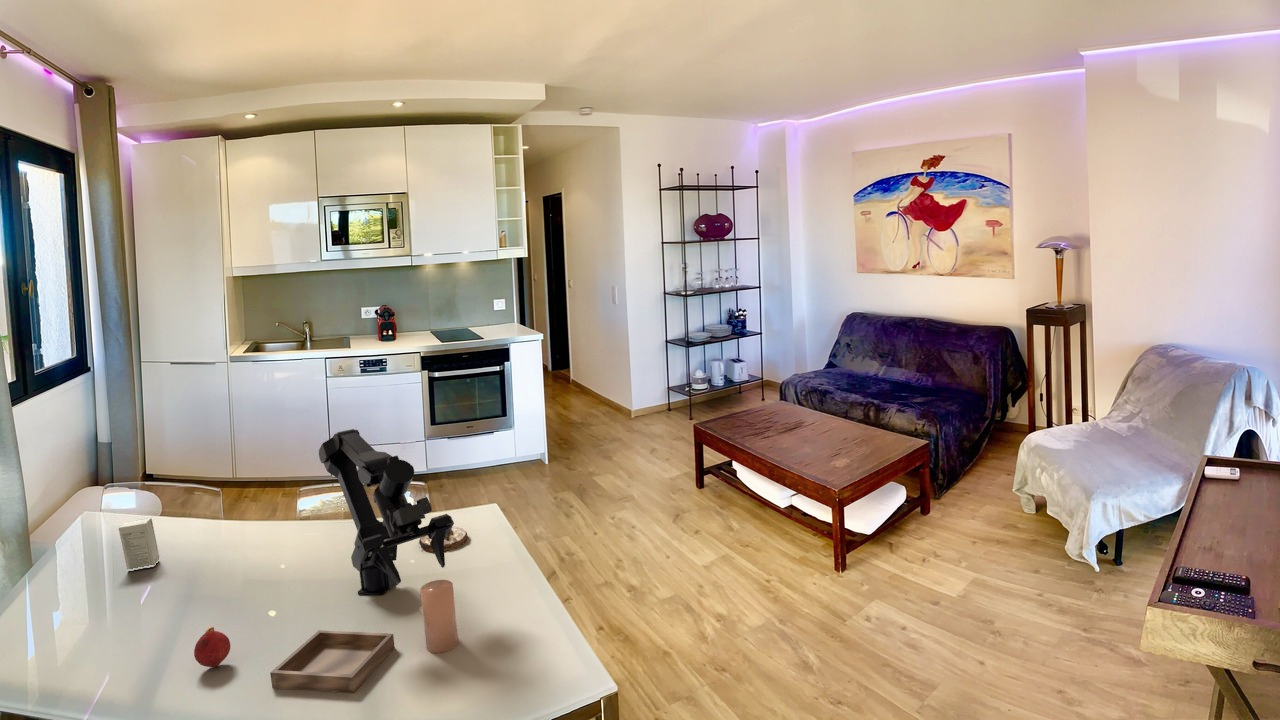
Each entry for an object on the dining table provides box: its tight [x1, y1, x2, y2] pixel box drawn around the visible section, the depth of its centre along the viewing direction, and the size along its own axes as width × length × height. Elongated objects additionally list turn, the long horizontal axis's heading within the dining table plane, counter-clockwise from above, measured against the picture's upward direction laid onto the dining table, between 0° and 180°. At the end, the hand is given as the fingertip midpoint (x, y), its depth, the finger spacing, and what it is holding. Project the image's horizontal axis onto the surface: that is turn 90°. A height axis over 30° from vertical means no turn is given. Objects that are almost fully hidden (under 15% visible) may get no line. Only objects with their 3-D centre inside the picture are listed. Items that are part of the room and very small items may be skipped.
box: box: [269, 630, 396, 694], centre depth 128 cm, size 16×14×3 cm
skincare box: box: [118, 517, 160, 570], centre depth 177 cm, size 6×4×12 cm
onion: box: [193, 626, 231, 668], centre depth 130 cm, size 6×6×8 cm
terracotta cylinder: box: [420, 579, 459, 654], centre depth 134 cm, size 6×6×12 cm
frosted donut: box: [418, 526, 468, 553], centre depth 184 cm, size 15×15×4 cm
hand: (422, 574), depth 137 cm, fingers open, 9 cm apart
